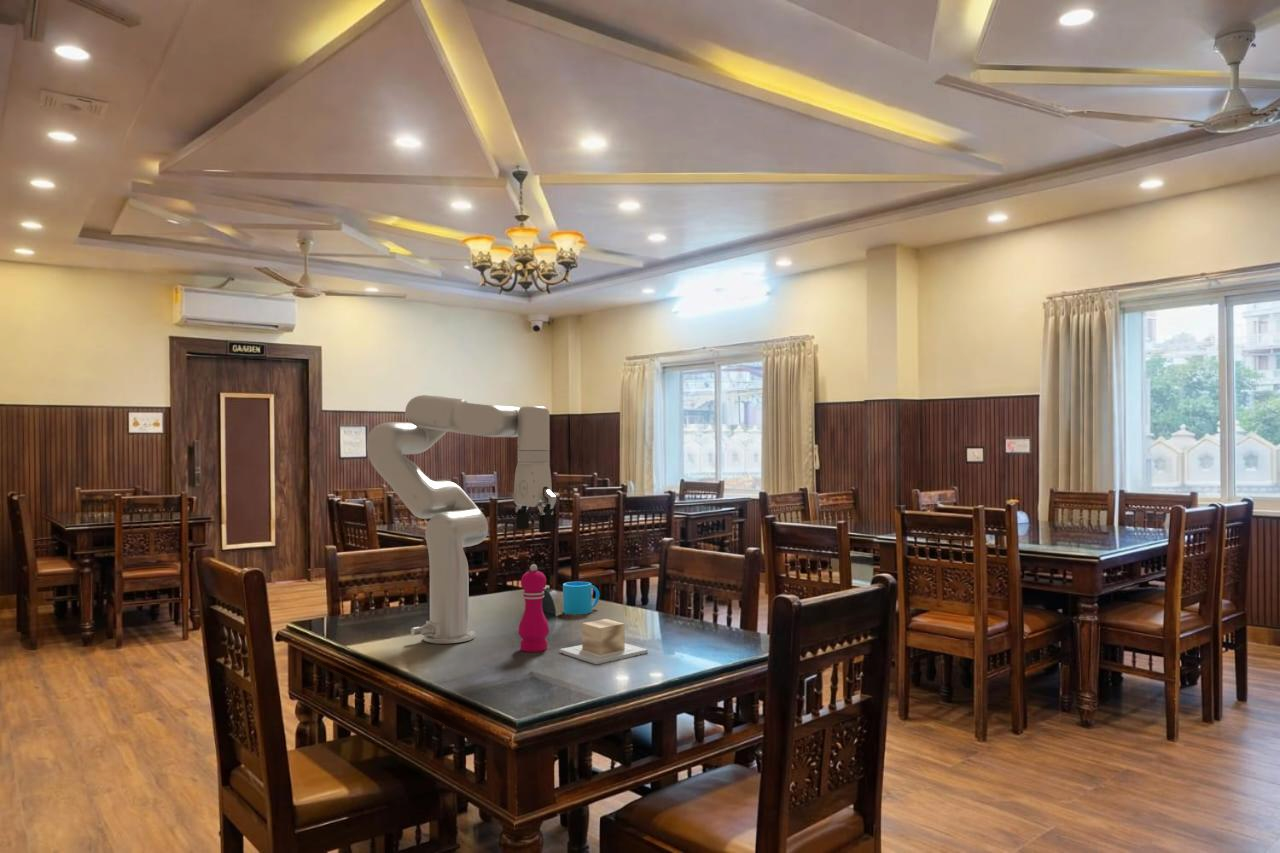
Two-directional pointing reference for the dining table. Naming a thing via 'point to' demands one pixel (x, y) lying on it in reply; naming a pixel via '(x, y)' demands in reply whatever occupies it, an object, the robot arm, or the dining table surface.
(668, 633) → the dining table surface
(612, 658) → the white flat square
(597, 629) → the maple block
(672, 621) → the dining table surface
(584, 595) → the mug
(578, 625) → the dining table surface
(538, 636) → the pepper mill
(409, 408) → the robot arm
